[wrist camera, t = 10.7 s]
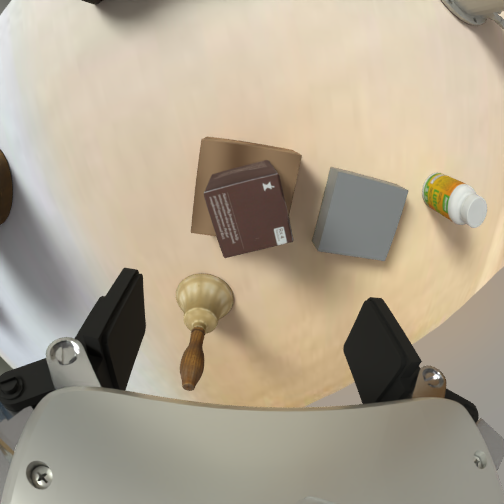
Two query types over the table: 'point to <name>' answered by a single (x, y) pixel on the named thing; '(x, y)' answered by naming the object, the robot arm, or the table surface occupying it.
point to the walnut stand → (232, 156)
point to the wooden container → (5, 189)
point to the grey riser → (358, 215)
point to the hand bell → (200, 319)
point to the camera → (92, 1)
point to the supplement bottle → (454, 200)
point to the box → (248, 208)
